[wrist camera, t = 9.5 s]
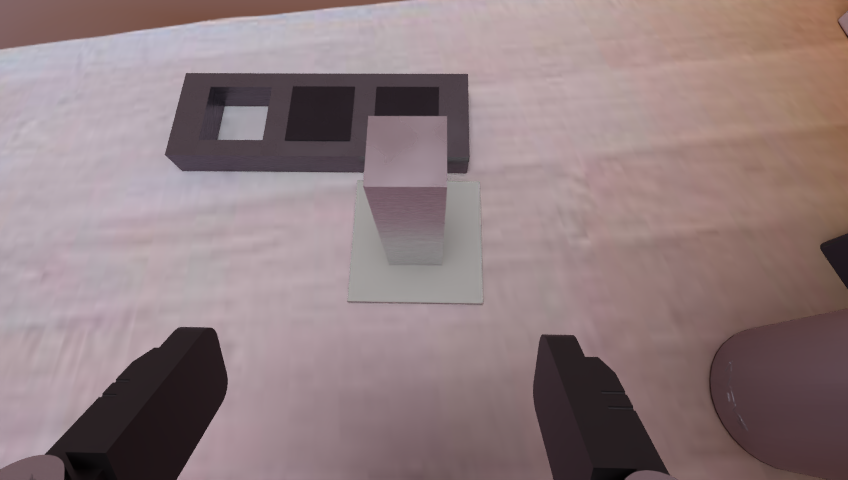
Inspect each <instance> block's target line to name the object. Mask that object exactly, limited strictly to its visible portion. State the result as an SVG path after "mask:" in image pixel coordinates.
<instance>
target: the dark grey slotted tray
mask: <svg viewBox="0 0 848 480" xmlns="http://www.w3.org/2000/svg"><path fill="white" fill-rule="evenodd" d="M224 106H269V107H268V113H267V119H266V125H265V130H264V136H263V140H217V137H218V133H219V128H220V123H221V119H222V114H223V110H224ZM368 116H447V173H467V169H468V162H469V115H468V74H252V73H186V76H185V80H184V84H183V87H182V91H181V95H180V99H179V103H178V107H177V110H176V114H175V118H174V122H173V126H172V130H171V133H170V137H169V141H168V145H167V149H166V153H165V155H166V156H167V157H168V158H169V159H170V160H171V161H172V162H173V163H174V164H175V165H177V166H178V167H179V168H180V169H181V170H182V171H286V172H364V168H365V154H366V140H367V127H368Z"/></svg>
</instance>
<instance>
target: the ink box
mask: <svg viewBox="0 0 848 480" xmlns="http://www.w3.org/2000/svg"><path fill="white" fill-rule="evenodd" d="M838 22H839V23H840V25H841V27H842V28H843V30H844V31H845V33H846V34H847V36H848V11H847V12H846V13H845V14H844V15H843V16H842V17H841V18H840V19H839V20H838Z"/></svg>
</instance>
